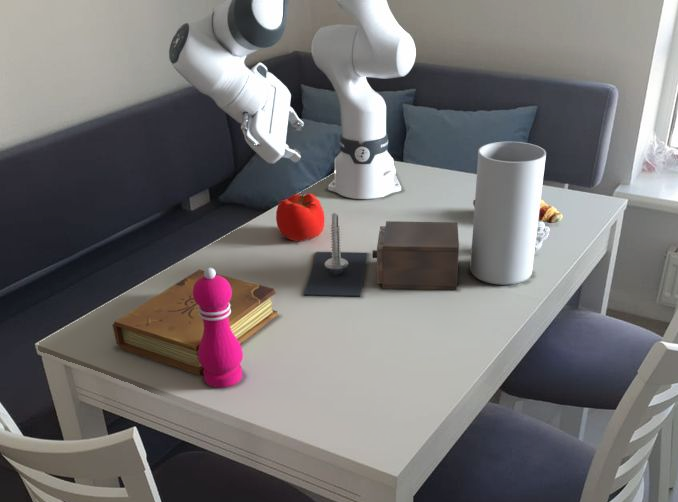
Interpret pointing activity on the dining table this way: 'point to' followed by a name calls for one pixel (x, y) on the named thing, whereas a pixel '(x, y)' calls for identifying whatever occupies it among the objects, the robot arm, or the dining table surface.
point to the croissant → (546, 213)
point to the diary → (189, 322)
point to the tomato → (300, 217)
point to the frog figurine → (541, 234)
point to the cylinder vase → (506, 211)
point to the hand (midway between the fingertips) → (300, 143)
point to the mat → (337, 276)
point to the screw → (336, 250)
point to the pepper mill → (217, 331)
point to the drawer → (379, 255)
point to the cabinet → (420, 255)
